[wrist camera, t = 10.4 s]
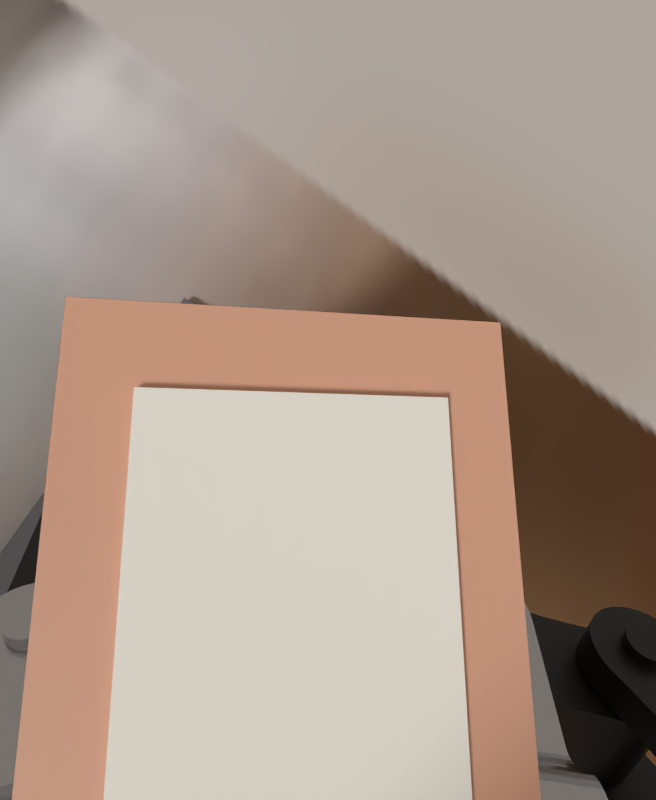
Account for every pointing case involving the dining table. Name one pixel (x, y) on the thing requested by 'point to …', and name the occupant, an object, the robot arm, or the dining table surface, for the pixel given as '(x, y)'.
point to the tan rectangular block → (277, 562)
